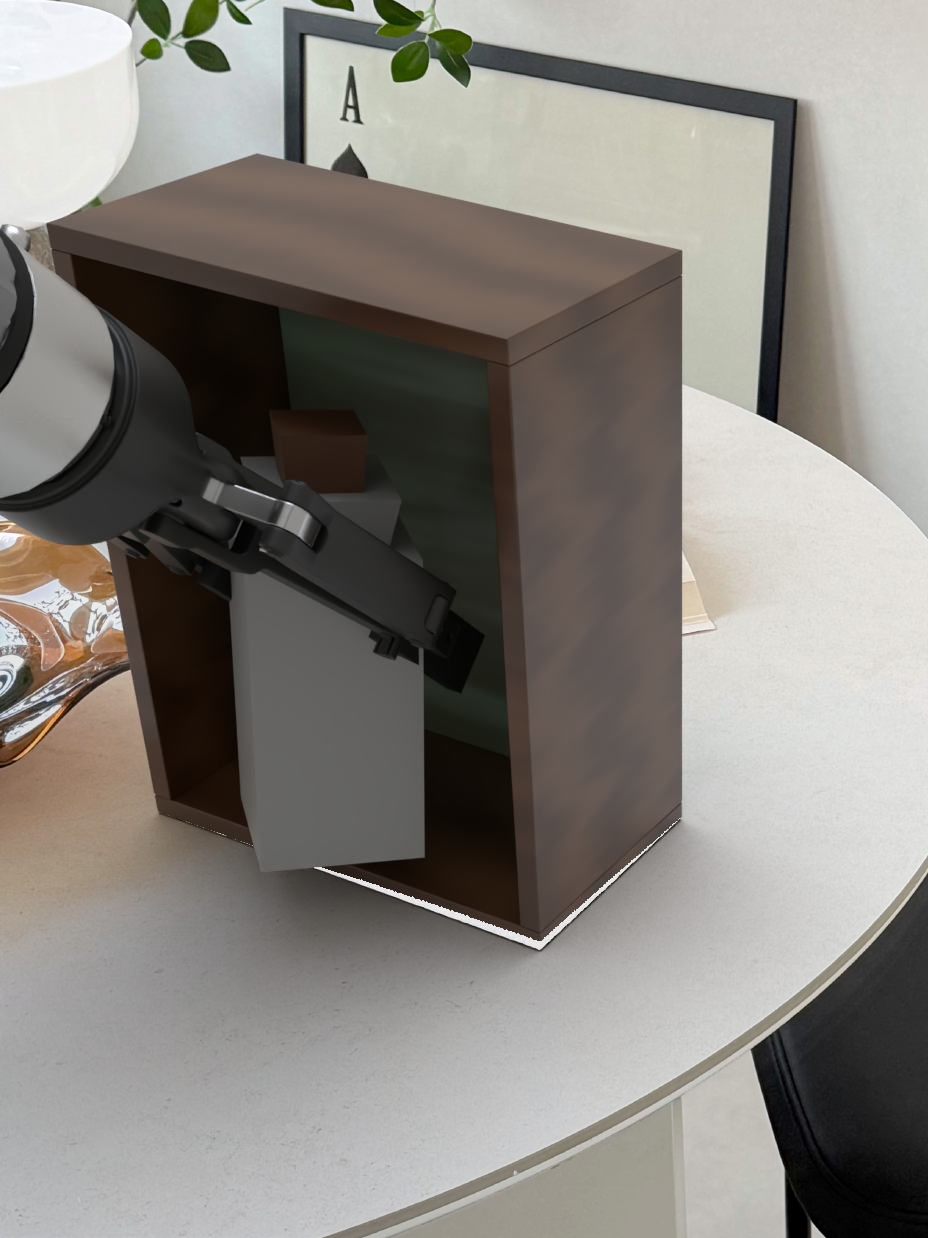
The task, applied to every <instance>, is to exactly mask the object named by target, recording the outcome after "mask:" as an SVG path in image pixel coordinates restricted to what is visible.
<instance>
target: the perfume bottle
mask: <svg viewBox="0 0 928 1238" xmlns="http://www.w3.org/2000/svg"><path fill="white" fill-rule="evenodd" d="M269 412H270V420H271V428H272V436H273V444H274V452H275V456H266V457H240V458H241V462H242V465H243V466H244V467H246V468H248V469H250V470H251V471H253V472H255V473H257V474H258V475H260V476H262V477H264V478H265V479H267V480H269V481H271V482H272V483H274V484H276V485H278V486H279V487H281V488H283V486H284V483H285V481H286V480H295V481H301V482H304V483H306V484H308V485H310V486H311V489H312V490H314V491H315V492H317V493H318V494H319V495H320V496H321V497H322V498H323V499H324V500H325V501H327V502H328V503H329V504H330V505H331V506H332V507H333V508H334V509H335V510H336V511H338V512H339V513H341V514H342V515H344V516H345V517H347V518H348V519H350V520H351V521H353V522H354V523H356V524H357V525H359V526H360V527H362V528H363V529H365V530H366V531H368V532H369V533H371V534H372V535H374V536H375V537H377V538H378V539H380V540H381V541H383V542H384V543H386V544H387V545H389V546H390V547H392V548H393V549H395V550H396V551H398V552H399V553H401V554H402V555H404V556H405V557H407V558H408V559H410V560H411V561H413V562H414V563H416V564H417V565H419V566H421V567H422V568H423V560H422V558H421V556H420V554H419V552H418V550H417V549H416V547H415V545H414V543H413V541H412V539H411V537H410V535H409V533H408V531H407V530H406V528H405V526H404V524H403V522H402V520H401V518H400V516H399V514H398V513H399V509H400V505H401V501H402V500H401V498H400V496H399V494H398V493H397V491H396V489H395V487H394V485H393V483H392V481H391V480H390V478H389V476H388V474H387V472H386V470H385V468H384V467H383V465H382V463H381V461H380V459H379V457H378V456H377V455H366V452H367V436H368V435H367V433H366V432H365V430H364V428H363V426H362V424H361V422H360V421H359V419H358V417H357V415H356V413H355V411H354V410H269ZM242 521H243V520H241V522H240V524H239V526H238V529H237V531H236V533H235V535H234V537H233V538H232V539H230V540H229V541H228V544H229V550H230V548H231V547H232V545H233V542H234V540H235V538H236V535H237V533H238V531H239V528H240V526H241V524H242ZM230 576H231V593H232V600H231V601H230V602H229V604H230V621H231V638H232V655H233V672H234V688H235V705H236V722H237V739H238V756H239V773H240V790H241V800H242V803H243V807H244V811H245V815H246V819H247V822H248V826H249V830H250V834H251V837H252V841H253V845H254V847H253V848H254V852H255V856H256V860H257V863H258V867H259V871H260V873H267V872H269V873H270V872H278V871H279V872H280V871H291V870H303V869H313V868H314V867H325V866H336V865H347V864H358V863H369V862H380V861H391V860H402V859H413V858H424V857H425V844H424V674H423V649H421V648H419V665H417V664H415V663H413V662H411V661H409V660H407V659H404V658H402V657H400V656H397V658H396V660H390V659H387V658H384V657H382V656H379V655H377V654H375V653H373V650H374V648H375V645H376V643H377V642H375V641H373V640H372V639H370V638H369V634H370V632H371V630H370V629H368V628H366V627H364V626H362V625H360V624H359V623H357V622H355V621H353V620H351V619H349V618H347V617H345V616H343V615H341V614H340V613H338V612H336V611H334V610H332V609H330V608H328V607H326V606H324V605H322V604H321V603H319V602H317V601H315V600H313V599H311V598H309V597H307V596H305V595H303V594H302V593H300V592H298V591H296V590H294V589H292V588H290V587H288V586H286V585H285V584H283V583H281V582H279V581H277V580H275V579H273V578H271V577H269V576H267V575H266V574H264V573H262V572H260V571H259V572H258V573H256V574H252V575H249V574H243V573H237V572H232V571H230Z"/></svg>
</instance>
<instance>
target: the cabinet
mask: <svg viewBox="0 0 928 1238" xmlns="http://www.w3.org/2000/svg"><path fill="white" fill-rule="evenodd" d="M45 225H46V229H47V230H46V231H47V236H48V241H49V246H50V249H51V250H50V252H51V257H52V261H53V268H54V273H55V274H57V275H58V276H59V277H61V278H62V279H63V280H64V281H66V282H67V283H68V284H70V285H71V286H72V287H74V288H75V289H76V290H77V291H79V292H80V293H81V294H83V295H84V296H85V297H86V298H88V299H89V300H90V302H91V303H92V304H95V305H97V306H98V307H100V308H102V309H104V310H105V311H107V312H108V313H109V314H111V315H112V316H113V317H115V318H116V319H117V320H119V321H120V322H121V323H122V324H124V325H125V326H126V327H128V328H129V329H130V330H132V331H133V332H134V333H135V334H137V335H138V336H139V337H141V338H142V339H143V340H144V341H146V342H147V343H148V344H150V345H151V346H152V347H154V348H155V349H156V350H157V351H159V352H160V353H161V354H162V355H164V356H165V357H166V358H167V359H168V360H169V361H170V362H171V363H172V365H173V366H174V367H175V368H176V370H177V371H178V373H179V374H180V376H181V378H182V379H183V382H184V384H185V386H186V388H187V391H188V394H189V397H190V402H191V407H192V414H193V421H194V427H195V432H197V433H200V434H202V435H204V436H206V437H208V438H209V439H211V440H213V441H215V442H216V443H218V444H220V445H222V446H223V447H225V448H226V449H227V450H229V451H230V453H231V455H232V457H233V459H234V460H235V461H236V462H237V463H239V464H241V465H242V462H241V458H240V457H266V456H275V452H274V444H273V436H272V428H271V420H270V412H269V410H354V411H355V413H356V415H357V417H358V419H359V421H360V422H361V424H362V426H363V428H364V430H365V432H366V433H367V435H368V436H367V452H366V455H377V456H378V457H379V459H380V461H381V463H382V465H383V467H384V468H385V470H386V472H387V474H388V476H389V478H390V480H391V481H392V483H393V485H394V487H395V489H396V491H397V493H398V494H399V496H400V498H401V500H402V501H401V505H400V509H399V513H398V514H399V516H400V518H401V520H402V522H403V524H404V526H405V528H406V530H407V531H408V533H409V535H410V537H411V539H412V541H413V543H414V545H415V547H416V549H417V550H418V552H419V554H420V556H421V558H422V560H423V568H424V569H425V570H427V571H428V572H430V573H431V574H433V575H434V576H436V577H437V578H439V579H440V580H443V581H445V582H447V583H449V586H451V587H452V588H454V589H455V590H456V591H457V593H456V595H455V597H454V600H453V602H452V605H451V607H450V610H452V611H453V612H454V613H456V614H457V615H458V616H460V617H461V618H462V619H464V620H465V621H466V622H468V623H469V624H470V625H472V626H473V627H474V628H476V629H477V630H479V631H480V632H481V633H483V634H484V635H485V637H484V640H483V642H482V644H481V647H480V649H479V652H478V654H477V657H476V659H475V662H474V664H473V666H472V669H471V671H470V674H469V676H468V679H467V681H466V683H465V686H464V688H463V691H462V693H458V692H455V691H452V690H449V689H446V688H445V687H443V686H442V685H440V684H439V683H437V682H436V681H434V680H433V679H431V678H429V677H428V676H426V675H425V674H424V844H425V857H424V858H413V859H402V860H391V861H380V862H369V863H358V864H347V865H336V866H325V867H322V868H325V869H328V870H331V871H334V872H337V873H341V874H344V875H347V876H350V877H353V878H356V879H360V880H361V879H362V880H363V881H366V882H369V883H372V884H376V885H379V886H380V887H383V888H386V889H390V890H393V891H394V892H395V891H396V892H397V893H402V894H404V895H407V896H410V897H412V896H413V897H414V898H415V899H420V900H421V901H422V900H424V901H425V902H426V901H427V902H428V903H431V904H435V905H438V906H439V907H441V906H442V907H443V908H446V909H449V910H450V911H451V910H453V911H454V912H458V913H461V914H464V915H465V916H466V915H468V916H469V917H470V918H474V919H477V920H480V921H482V922H483V921H484V922H485V923H488V924H492V925H493V926H494V925H495V926H496V927H500V928H503V929H504V930H506V929H507V930H508V931H512V932H515V933H516V934H517V933H519V934H520V935H524V936H526V937H528V938H530V937H531V938H532V939H533V940H537V941H542V940H543V939H544V937H546V936H547V935H549V933H550V932H551V931H553V929H555V927H557V926H559V924H560V923H561V922H563V921H564V920H565V919H566V918H567V917H568V916H569V915H570V914H572V912H574V910H575V911H576V909H578V908H579V907H580V906H581V905H582V904H583V903H585V901H587V899H589V898H590V897H591V896H592V895H593V894H594V893H596V892H597V891H598V890H599V888H601V887H603V885H604V884H606V882H608V880H610V879H611V878H613V876H615V874H617V873H618V872H620V870H621V869H623V868H624V867H625V866H626V865H628V863H630V862H631V860H633V859H634V858H636V856H638V855H639V854H641V852H642V851H644V849H646V848H647V846H649V845H650V844H652V843H653V842H654V841H655V840H656V839H657V838H658V837H660V836H661V834H663V833H664V831H666V830H667V829H669V827H670V826H672V824H673V823H675V822H676V821H678V819H679V818H681V817H682V818H683V250H682V249H680V248H674V247H671V246H666V245H661V244H657V243H654V242H653V243H652V242H648V241H644V240H639V239H635V238H631V237H626V236H621V235H618V234H613V233H608V232H605V231H600V230H596V229H591V228H587V227H583V226H578V225H574V224H569V223H564V222H562V221H561V222H560V221H556V220H551V219H547V218H543V217H539V216H534V215H530V214H525V213H520V212H516V211H512V210H507V209H504V208H499V207H495V206H492V205H491V206H490V205H485V204H482V203H478V202H473V201H468V200H465V199H459V198H456V197H452V196H451V197H450V196H447V195H441V194H439V193H438V194H437V193H433V192H429V191H424V190H420V189H415V188H411V187H408V186H406V187H405V186H402V185H399V184H393V183H389V182H385V181H380V180H376V179H371V178H369V177H364V176H358V175H353V174H350V173H345V172H341V171H336V170H332V169H328V168H323V167H319V166H314V165H310V164H306V163H301V162H297V161H292V160H288V159H283V158H279V157H276V156H275V157H274V156H270V155H266V154H262V153H254V154H250V155H247V156H245V157H242V158H239V159H235V160H233V161H230V162H227V163H224V164H220V165H217V166H214V167H212V168H208V169H206V170H201V171H200V172H199V171H198V172H196V173H193V174H191V175H187V176H184V177H182V178H178V179H175V180H172V181H169V182H166V183H164V184H160V185H157V186H154V187H151V188H148V189H145V190H142V191H139V192H136V193H133V194H130V195H127V196H124V197H120V198H118V199H115V200H111V201H108V202H105V203H102V204H100V205H95V206H93V207H90V208H88V209H85V210H81V211H78V212H75V213H72V214H70V215H69V214H68V215H66V216H63V217H60V218H57V219H54V220H52V221H48V222H46V223H45ZM105 542H106V546H107V547H106V548H107V553H108V557H109V562H110V569H111V573H112V579H113V584H114V590H115V596H116V599H117V605H118V610H119V616H120V621H121V626H122V627H121V628H122V632H123V638H124V641H125V647H126V652H127V658H128V665H129V669H130V673H131V679H132V680H131V681H132V685H133V690H134V695H135V700H136V706H137V711H138V717H139V721H140V727H141V732H142V738H143V743H144V747H145V754H146V758H147V759H146V760H147V763H148V770H149V773H150V779H151V785H152V791H153V794H154V799H155V803H156V810H157V812H158V813H160V814H163V815H164V816H165V815H166V816H168V815H169V816H168V817H170V816H171V818H173V817H174V818H173V819H176V818H178V819H177V820H179V819H181V820H184V821H187V822H190V823H192V824H195V825H198V826H201V827H204V828H206V829H209V830H212V831H215V832H218V833H221V834H224V835H226V836H227V837H226V838H228V837H230V838H229V839H231V838H233V839H232V840H234V839H236V840H238V841H237V842H239V841H242V842H245V843H248V844H250V845H253V841H252V837H251V834H250V830H249V826H248V822H247V819H246V815H245V811H244V807H243V803H242V800H241V790H240V773H239V756H238V739H237V722H236V705H235V688H234V672H233V655H232V638H231V621H230V604H229V601H227V600H225V599H224V598H222V597H220V596H219V595H217V594H216V593H214V592H212V591H211V590H209V589H207V588H206V587H204V586H202V585H201V584H199V583H198V582H197V580H198V578H199V575H200V573H199V572H198V571H196V570H194V572H193V574H192V576H190V575H186V574H182V575H179V574H176V573H174V572H172V571H170V569H169V568H167V567H166V566H165V565H164V564H163V563H162V562H161V561H160V560H159V559H158V558H157V557H156V556H155V555H154V554H153V553H152V552H151V551H150V554H149V556H148V558H147V559H144V558H141V557H138V558H133V557H131V556H129V555H127V554H125V551H124V550H123V549H121V548H119V547H118V546H116V545H115V544H113V543H112V542H110V541H109V540H108V541H105ZM181 820H180V821H181ZM184 821H183V822H184ZM187 822H186V823H187ZM190 823H189V824H190ZM192 824H191V825H192ZM195 825H194V826H195ZM198 826H197V827H198ZM201 827H200V828H201ZM206 829H205V830H206ZM209 830H208V831H209ZM212 831H211V832H212ZM236 840H235V841H236ZM242 842H241V843H242ZM245 843H244V844H245ZM250 845H249V846H250ZM253 846H254V845H253ZM253 846H252V847H253Z"/></svg>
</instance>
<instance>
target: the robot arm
mask: <svg viewBox="0 0 928 1238" xmlns="http://www.w3.org/2000/svg"><path fill="white" fill-rule="evenodd" d="M31 245H32V237H31V235H30V234H29V233H28V232H27V231H26V230H25V229H24V228H23V227H22V226H18V225H14V224H10V223H9V224H8V223H6V224H5V223H3V224H1V226H0V517H2V518H4V519H6V520H7V521H10V522H11V523H13V524H14V525H16V526H18V527H20V528H22V529H23V530H25V531H27V532H28V533H29V534H32V535H33V536H36V537H38V538H40V539H42V540H44V541H46V542H49V543H54V544H57V545H63V546H72V547H73V546H74V547H76V546H77V547H78V546H79V547H80V546H82V547H83V546H90V545H91V546H92V545H96V544H101V543H104V542H106V541H108V540H109V541H110V542H112V543H113V544H115V545H116V546H118V547H119V548H121V549H123V550H124V551H125V554H127V555H129V556H131V557H133V558H138V557H141V558H144V559H147V558H148V556H149V554H150V551H151V552H152V553H153V554H154V555H155V556H156V557H157V558H158V559H159V560H160V561H161V562H162V563H163V564H164V565H165V566H166V567H167V568H169V569H170V571H172V572H174V573H176V574H179V575H182V574H186V575H190V576H192V574H193V572H194V570H196V571H198V572H199V573H200V575H199V578H198V580H197V582H198V583H199V584H201V585H202V586H204V587H206V588H207V589H209V590H211V591H212V592H214V593H216V594H217V595H219V596H220V597H222V598H224V599H225V600H227V601H229V602H230V601H231V600H232V593H231V576H230V571H232V572H237V573H243V574H249V575H252V574H256V573H258V572H259V571H260V572H262V573H264V574H266V575H267V576H269V577H271V578H273V579H275V580H277V581H279V582H281V583H283V584H285V585H286V586H288V587H290V588H292V589H294V590H296V591H298V592H300V593H302V594H303V595H305V596H307V597H309V598H311V599H313V600H315V601H317V602H319V603H321V604H322V605H324V606H326V607H328V608H330V609H332V610H334V611H336V612H338V613H340V614H341V615H343V616H345V617H347V618H349V619H351V620H353V621H355V622H357V623H359V624H360V625H362V626H364V627H366V628H368V629H370V630H371V632H370V634H369V638H370V639H372V640H373V641H375V642H377V643H376V645H375V648H374V650H373V653H375V654H377V655H379V656H382V657H384V658H387V659H390V660H396V658H397V656H400V657H402V658H404V659H407V660H409V661H411V662H413V663H415V664H417V665H419V648H421V649H423V674H425V675H426V676H428V677H429V678H431V679H433V680H434V681H436V682H437V683H439V684H440V685H442V686H443V687H445V688H446V689H449V690H452V691H455V692H458V693H462V691H463V688H464V686H465V683H466V681H467V679H468V676H469V674H470V671H471V669H472V666H473V664H474V662H475V659H476V657H477V654H478V652H479V649H480V647H481V644H482V642H483V640H484V637H485V635H484V634H483V633H481V632H480V631H479V630H477V629H476V628H474V627H473V626H472V625H470V624H469V623H468V622H466V621H465V620H464V619H462V618H461V617H460V616H458V615H457V614H456V613H454V612H453V611H452V610H450V607H451V605H452V602H453V600H454V597H455V595H456V593H457V591H456V590H455V589H454V588H452V587H451V586H449V583H447V582H445V581H443V580H440V579H439V578H437V577H436V576H434V575H433V574H431V573H430V572H428V571H427V570H425V569H424V568H422V567H421V566H419V565H417V564H416V563H414V562H413V561H411V560H410V559H408V558H407V557H405V556H404V555H402V554H401V553H399V552H398V551H396V550H395V549H393V548H392V547H390V546H389V545H387V544H386V543H384V542H383V541H381V540H380V539H378V538H377V537H375V536H374V535H372V534H371V533H369V532H368V531H366V530H365V529H363V528H362V527H360V526H359V525H357V524H356V523H354V522H353V521H351V520H350V519H348V518H347V517H345V516H344V515H342V514H341V513H339V512H338V511H336V510H335V509H334V508H333V507H332V506H331V505H330V504H329V503H328V502H327V501H325V500H324V499H323V498H322V497H321V496H320V495H319V494H318V493H317V492H315V491H314V490H312V489H311V486H310V485H308V484H306V483H304V482H301V481H295V480H286V481H285V483H284V486H283V488H281V487H279V486H278V485H276V484H274V483H272V482H271V481H269V480H267V479H265V478H264V477H262V476H260V475H258V474H257V473H255V472H253V471H251V470H250V469H248V468H246V467H244V466H243V465H241V464H239V463H237V462H236V461H235V460H234V459H233V457H232V455H231V453H230V451H229V450H227V449H226V448H225V447H223V446H222V445H220V444H218V443H216V442H215V441H213V440H211V439H209V438H208V437H206V436H204V435H202V434H200V433H197V432H195V427H194V421H193V414H192V407H191V402H190V397H189V394H188V391H187V388H186V386H185V384H184V382H183V379H182V378H181V376H180V374H179V373H178V371H177V370H176V368H175V367H174V366H173V365H172V363H171V362H170V361H169V360H168V359H167V358H166V357H165V356H164V355H162V354H161V353H160V352H159V351H157V350H156V349H155V348H154V347H152V346H151V345H150V344H148V343H147V342H146V341H144V340H143V339H142V338H141V337H139V336H138V335H137V334H135V333H134V332H133V331H132V330H130V329H129V328H128V327H126V326H125V325H124V324H122V323H121V322H120V321H119V320H117V319H116V318H115V317H113V316H112V315H111V314H109V313H108V312H107V311H105V310H104V309H102V308H100V307H98V306H97V305H95V304H92V303H91V302H90V300H89V299H88V298H86V297H85V296H84V295H83V294H81V293H80V292H79V291H77V290H76V289H75V288H74V287H72V286H71V285H70V284H68V283H67V282H66V281H64V280H63V279H62V278H61V277H59V276H58V275H57V274H56V273H55V271H53V270H52V269H49V268H47V267H46V266H45V265H44V264H43V263H41V262H39V261H38V260H37V259H36V258H35V257H33V256H32V255H31V254H30V253H29V252H30V249H31V247H32V246H31ZM241 520H243V521H242V524H241V526H240V528H239V531H238V533H237V535H236V538H235V540H234V542H233V545H232V547H231V548H230V550H229V544H228V541H229V540H230V539H232V538H233V537H234V535H235V533H236V531H237V529H238V526H239V524H240V522H241Z"/></svg>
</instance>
